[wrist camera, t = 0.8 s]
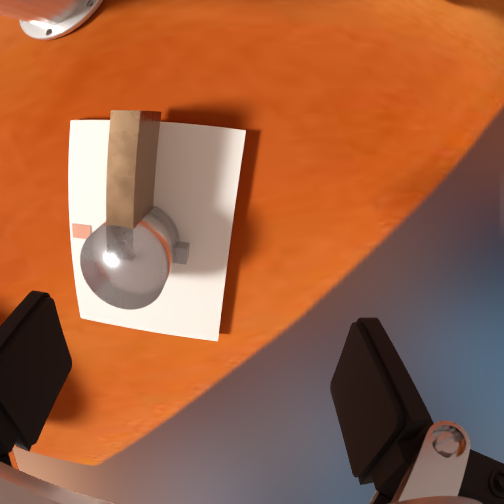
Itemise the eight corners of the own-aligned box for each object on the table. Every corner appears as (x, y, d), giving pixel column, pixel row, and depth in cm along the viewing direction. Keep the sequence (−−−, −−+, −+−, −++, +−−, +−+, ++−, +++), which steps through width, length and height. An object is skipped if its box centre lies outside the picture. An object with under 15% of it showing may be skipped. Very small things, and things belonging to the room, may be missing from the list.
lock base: (77, 119, 27) (70, 120, 26) (246, 130, 29) (246, 130, 27) (85, 311, 37) (80, 318, 35) (218, 333, 38) (217, 341, 37)
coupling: (188, 281, 33) (176, 317, 27) (100, 268, 32) (75, 299, 26) (204, 115, 26) (193, 113, 20) (102, 110, 26) (68, 111, 20)
